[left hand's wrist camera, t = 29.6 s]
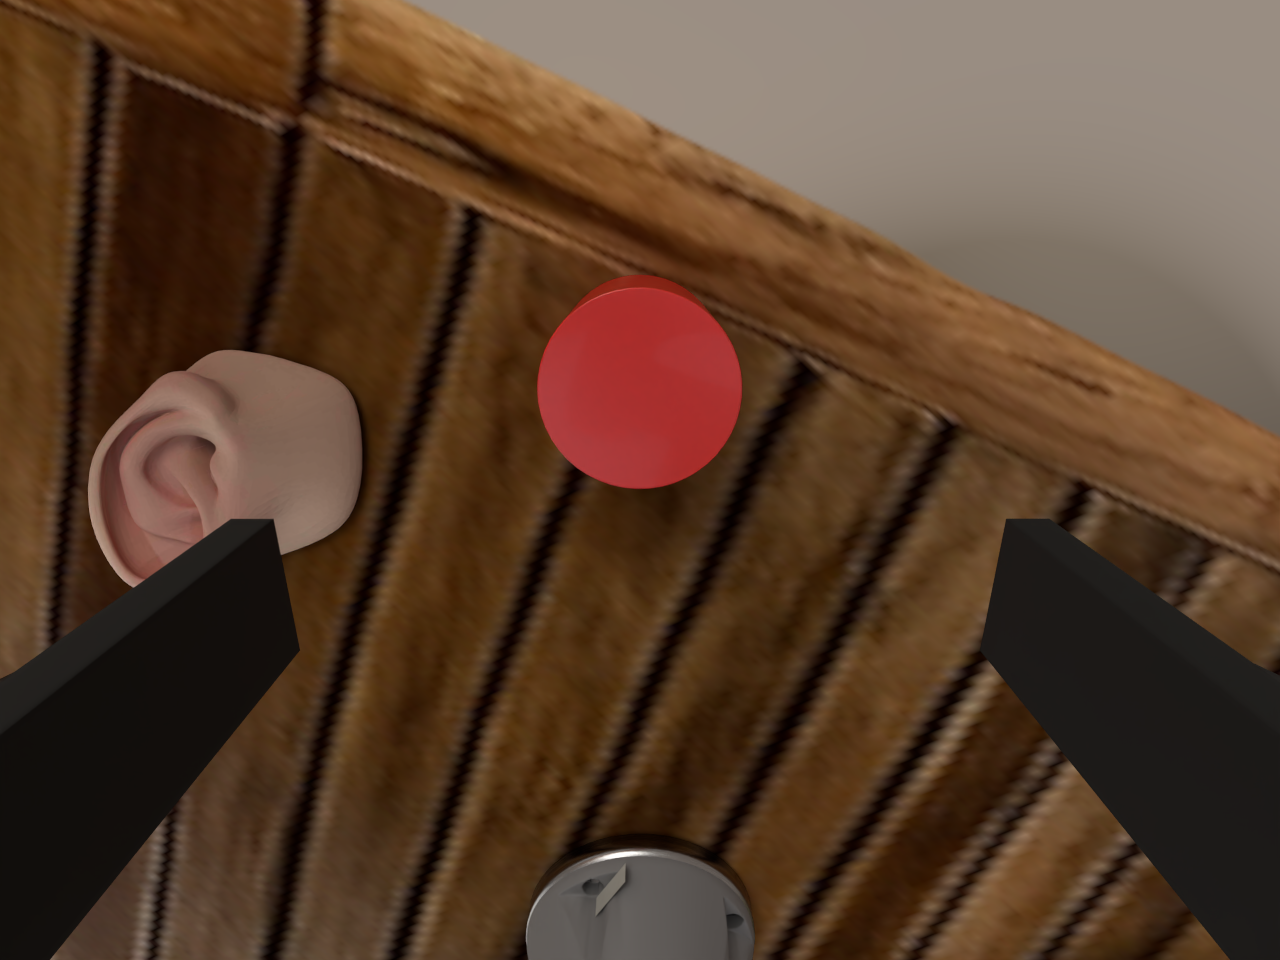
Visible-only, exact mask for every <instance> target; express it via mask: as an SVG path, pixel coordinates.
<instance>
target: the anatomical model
mask: <svg viewBox="0 0 1280 960" xmlns="http://www.w3.org/2000/svg"><path fill="white" fill-rule="evenodd" d="M361 475H362V437H361V427H360V420H359V414H358V410H357V406H356V404H355V401H354V399H353V396H352V395H351V393H350V392H349V390H348V389H347V388H346V386H344V385H343V384H342V383H341V382H340V381H339V380H337V379H336V378H334V377H332V376H330V375H328V374H326V373H324V372H321V371H319V370H316V369H314V368H311V367H308V366H305V365H301V364H298V363H295V362H292V361H289V360H285V359H282V358H278V357H274V356H271V355H265V354H259V353H252V352H245V351H238V350H222V351H217V352H214V353H211V354H209V355H207V356H205V357H203V358H202V359H200V360H199V361H198V362H196V363H195V364H194V365H193V366H191V367H190V368H189V369H188V370H187V371H176V372H171V373H168V374H165V375H163V376H162V377H160V378H159V379H158V380H157V381H156V382H154V383H153V384H152V385H151V386H150V388H149V389H148V390H147V391H146V392H145V393H144V394H143V395H142V396H141V397H140V398H139V399H138V400H137V401H136V402H135V403H134V404H133V405H132V406H131V407H130V408H129V409H128V410H127V411H126V412H125V413H124V414H123V415H122V416H121V417H120V418H119V419H118V420H117V421H116V422H115V423H114V424H113V426H112V427H111V428H110V429H109V430H108V432H107V433H106V434H105V436H104V437H103V439H102V440H101V442H100V444H99V446H98V448H97V450H96V452H95V454H94V457H93V460H92V464H91V468H90V474H89V485H88V498H89V511H90V517H91V521H92V526H93V529H94V532H95V535H96V538H97V540H98V542H99V544H100V546H101V549H102V551H103V552H104V554H105V556H106V558H107V560H108V562H109V563H110V564H111V566H112V567H113V569H114V570H115V571H116V573H117V574H118V575H119V576H120V577H121V578H122V579H123V580H124V581H125V582H126V583H127V584H129V585H130V586H132V587H135V586H137V585H138V584H140V583H141V582H142V581H144V580H145V579H147V578H148V577H149V576H151V575H152V574H154V573H155V572H157V571H158V570H159V569H161V568H162V567H164V566H165V565H166V564H168V563H169V562H171V561H172V560H173V559H175V558H176V557H178V556H179V555H181V554H182V553H183V552H185V551H186V550H188V549H189V548H190V547H192V546H193V545H195V544H196V543H198V542H199V541H200V540H202V539H203V538H205V537H206V536H207V535H209V534H210V533H212V532H213V531H214V530H216V529H217V528H219V527H220V526H222V525H223V524H224V523H226V522H227V521H229V520H230V519H274V523H275V528H276V533H277V538H278V543H279V548H280V553H281V555H282V554H285V553H288V552H291V551H294V550H297V549H299V548H302V547H305V546H307V545H310V544H312V543H314V542H316V541H318V540H320V539H323V538H324V537H326V536H328V535H329V534H331V533H333V532H334V531H336V530H337V529H338V528H339V527H340V526H341V525H342V524H343V523H344V522H345V521H346V520H347V519H348V517H349V516H350V514H351V512H352V510H353V508H354V506H355V503H356V501H357V497H358V493H359V489H360V484H361Z"/></svg>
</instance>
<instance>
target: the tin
mask: <svg viewBox="0 0 1280 960" xmlns="http://www.w3.org/2000/svg"><path fill="white" fill-rule="evenodd" d="M537 393H538V404H539V408H540V413H541V417H542V419H543V422H544V425H545V428H546V430H547V432H548V434H549V436H550V437H551V439H552V441H553V442H554V444H555V445H556V447H557V448H558V450H559V451H560V452H561V453H562V454H563V455H564V456H565V457H566V459H567V460H569V461H570V462H571V463H572V464H573V465H574V466H575V467H577V468H578V469H580V470H581V471H583V472H584V473H586V474H587V475H589V476H591V477H593V478H595V479H597V480H599V481H601V482H604V483H607V484H610V485H614V486H618V487H623V488H632V489H649V488H656V487H662V486H666V485H669V484H673V483H676V482H678V481H680V480H683V479H685V478H687V477H689V476H691V475H692V474H694V473H696V472H697V471H699V470H700V469H701V468H703V467H704V466H705V465H707V464H708V463H709V462H710V461H711V460H712V459H713V458H714V457H715V456H716V455H717V454H718V453H719V451H720V450H721V449H722V447H723V446H724V445H725V443H726V442H727V440H728V438H729V437H730V435H731V433H732V431H733V429H734V426H735V424H736V422H737V418H738V415H739V411H740V406H741V400H742V377H741V369H740V365H739V361H738V357H737V355H736V352H735V350H734V347H733V345H732V343H731V341H730V340H729V338H728V336H727V334H726V333H725V331H724V330H723V329H722V327H721V326H720V325H719V323H718V322H717V321H716V320H715V319H714V317H713V316H712V315H711V314H710V313H709V311H708V310H707V309H706V308H705V307H704V305H703V304H702V303H701V302H700V301H699V300H698V299H697V298H696V297H695V296H694V295H693V294H692V293H690V292H689V291H688V290H686V289H685V288H683V287H682V286H680V285H678V284H676V283H674V282H672V281H669V280H667V279H664V278H660V277H656V276H649V275H630V276H624V277H619V278H616V279H613V280H610V281H608V282H606V283H603V284H601V285H599V286H598V287H596V288H595V289H593V290H592V291H590V292H589V293H588V294H587V295H586V296H585V297H583V298H582V299H581V301H580V302H579V303H578V304H577V305H576V306H575V307H574V309H573V310H572V311H571V312H570V313H569V315H568V316H567V317H566V318H565V319H564V321H563V322H562V323H561V324H560V325H559V327H558V328H557V329H556V331H555V332H554V334H553V335H552V337H551V338H550V340H549V342H548V345H547V347H546V349H545V351H544V354H543V357H542V360H541V363H540V368H539V373H538V384H537Z"/></svg>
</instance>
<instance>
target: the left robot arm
mask: <svg viewBox="0 0 1280 960" xmlns="http://www.w3.org/2000/svg"><path fill="white" fill-rule="evenodd" d="M299 651H300V648H299V643H298V638H297V633H296V628H295V623H294V618H293V613H292V608H291V603H290V598H289V593H288V588H287V583H286V578H285V573H284V568H283V563H282V558H281V553H280V548H279V543H278V538H277V533H276V528H275V523H274V519H230V520H229V521H227V522H226V523H224V524H223V525H222V526H220V527H219V528H217V529H216V530H214V531H213V532H212V533H210V534H209V535H207V536H206V537H205V538H203V539H202V540H200V541H199V542H198V543H196V544H195V545H193V546H192V547H190V548H189V549H188V550H186V551H185V552H183V553H182V554H181V555H179V556H178V557H176V558H175V559H173V560H172V561H171V562H169V563H168V564H166V565H165V566H164V567H162V568H161V569H159V570H158V571H157V572H155V573H154V574H152V575H151V576H149V577H148V578H147V579H145V580H144V581H142V582H141V583H140V584H138V585H137V586H135V587H134V588H133V589H131V590H130V591H128V592H127V593H125V594H124V595H123V596H121V597H120V598H118V599H117V600H116V601H114V602H113V603H111V604H110V605H108V606H107V607H106V608H104V609H103V610H101V611H100V612H99V613H97V614H96V615H94V616H93V617H92V618H90V619H89V620H87V621H86V622H84V623H83V624H82V625H80V626H79V627H77V628H76V629H75V630H73V631H72V632H70V633H69V634H68V635H66V636H65V637H63V638H62V639H60V640H59V641H58V642H56V643H55V644H53V645H52V646H51V647H49V648H48V649H46V650H45V651H43V652H42V653H41V654H39V655H38V656H36V657H35V658H34V659H32V660H31V661H29V662H28V663H27V664H25V665H24V666H22V667H21V668H19V669H18V670H17V671H15V672H14V673H12V674H9V675H7V676H5V677H3V678H1V679H0V960H50V959H51V958H52V956H53V955H54V954H55V953H56V952H57V950H58V949H59V948H60V947H61V945H62V944H63V943H64V942H65V940H66V939H67V938H68V937H69V935H70V934H71V933H72V932H73V930H74V929H75V928H76V927H77V926H78V924H79V923H80V922H81V921H82V919H83V918H84V917H85V916H86V914H87V913H88V912H89V911H90V909H91V908H92V907H93V906H94V904H95V903H96V902H97V901H98V900H99V898H100V897H101V896H102V895H103V893H104V892H105V891H106V890H107V888H108V887H109V886H110V885H111V883H112V882H113V881H114V880H115V878H116V877H117V876H118V875H119V874H120V872H121V871H122V870H123V869H124V867H125V866H126V865H127V864H128V862H129V861H130V860H131V859H132V857H133V856H134V855H135V854H136V852H137V851H138V850H139V849H140V848H141V846H142V845H143V844H144V843H145V841H146V840H147V839H148V838H149V836H150V835H151V834H152V833H153V831H154V830H155V829H156V828H157V827H158V825H159V824H160V823H161V822H162V820H163V819H164V818H165V817H166V815H167V814H168V813H169V812H170V810H171V809H172V808H173V807H174V805H175V804H176V803H177V802H178V801H179V799H180V798H181V797H182V796H183V794H184V793H185V792H186V791H187V789H188V788H189V787H190V786H191V784H192V783H193V782H194V781H195V779H196V778H197V777H198V776H199V775H200V773H201V772H202V771H203V770H204V768H205V767H206V766H207V765H208V763H209V762H210V761H211V760H212V758H213V757H214V756H215V755H216V753H217V752H218V751H219V750H220V749H221V747H222V746H223V745H224V744H225V742H226V741H227V740H228V739H229V737H230V736H231V735H232V734H233V732H234V731H235V730H236V729H237V727H238V726H239V725H240V724H241V723H242V721H243V720H244V719H245V718H246V716H247V715H248V714H249V713H250V711H251V710H252V709H253V708H254V706H255V705H256V704H257V703H258V702H259V700H260V699H261V698H262V697H263V695H264V694H265V693H266V692H267V690H268V689H269V688H270V687H271V685H272V684H273V683H274V682H275V680H276V679H277V678H278V677H279V676H280V674H281V673H282V672H283V671H284V669H285V668H286V667H287V666H288V664H289V663H290V662H291V661H292V659H293V658H294V657H295V656H296V654H297V653H298V652H299ZM980 651H981V652H982V653H983V654H984V656H985V657H986V658H987V659H988V661H989V662H990V663H991V664H992V666H993V667H994V668H995V669H996V671H997V672H998V673H999V674H1000V676H1001V677H1002V678H1003V679H1004V680H1005V682H1006V683H1007V684H1008V685H1009V687H1010V688H1011V689H1012V690H1013V692H1014V693H1015V694H1016V695H1017V697H1018V698H1019V699H1020V700H1021V702H1022V703H1023V704H1024V705H1025V706H1026V708H1027V709H1028V710H1029V711H1030V713H1031V714H1032V715H1033V716H1034V718H1035V719H1036V720H1037V721H1038V723H1039V724H1040V725H1041V726H1042V727H1043V729H1044V730H1045V731H1046V732H1047V734H1048V735H1049V736H1050V737H1051V739H1052V740H1053V741H1054V742H1055V744H1056V745H1057V746H1058V747H1059V749H1060V750H1061V751H1062V752H1063V753H1064V755H1065V756H1066V757H1067V758H1068V760H1069V761H1070V762H1071V763H1072V765H1073V766H1074V767H1075V768H1076V770H1077V771H1078V772H1079V773H1080V775H1081V776H1082V777H1083V778H1084V779H1085V781H1086V782H1087V783H1088V784H1089V786H1090V787H1091V788H1092V789H1093V791H1094V792H1095V793H1096V794H1097V796H1098V797H1099V798H1100V799H1101V801H1102V802H1103V803H1104V804H1105V805H1106V807H1107V808H1108V809H1109V810H1110V812H1111V813H1112V814H1113V815H1114V817H1115V818H1116V819H1117V820H1118V822H1119V823H1120V824H1121V825H1122V827H1123V828H1124V829H1125V830H1126V831H1127V833H1128V834H1129V835H1130V836H1131V838H1132V839H1133V840H1134V841H1135V843H1136V844H1137V845H1138V846H1139V848H1140V849H1141V850H1142V851H1143V852H1144V854H1145V855H1146V856H1147V857H1148V859H1149V860H1150V861H1151V862H1152V864H1153V865H1154V866H1155V867H1156V869H1157V870H1158V871H1159V872H1160V874H1161V875H1162V876H1163V877H1164V878H1165V880H1166V881H1167V882H1168V883H1169V885H1170V886H1171V887H1172V888H1173V890H1174V891H1175V892H1176V893H1177V895H1178V896H1179V897H1180V898H1181V900H1182V901H1183V902H1184V903H1185V904H1186V906H1187V907H1188V908H1189V909H1190V911H1191V912H1192V913H1193V914H1194V916H1195V917H1196V918H1197V919H1198V921H1199V922H1200V923H1201V924H1202V926H1203V927H1204V928H1205V929H1206V930H1207V932H1208V933H1209V934H1210V935H1211V937H1212V938H1213V939H1214V940H1215V942H1216V943H1217V944H1218V945H1219V947H1220V948H1221V949H1222V950H1223V952H1224V953H1225V954H1226V955H1227V956H1228V958H1229V959H1230V960H1280V676H1279V675H1277V674H1275V673H1273V672H1271V671H1269V670H1267V669H1264V668H1262V667H1260V666H1258V665H1256V664H1253V663H1252V662H1251V661H1249V660H1248V659H1246V658H1245V657H1244V656H1242V655H1241V654H1239V653H1238V652H1237V651H1235V650H1234V649H1232V648H1231V647H1229V646H1228V645H1227V644H1225V643H1224V642H1222V641H1221V640H1220V639H1218V638H1217V637H1215V636H1214V635H1212V634H1211V633H1210V632H1208V631H1207V630H1205V629H1204V628H1203V627H1201V626H1200V625H1198V624H1197V623H1196V622H1194V621H1193V620H1191V619H1190V618H1188V617H1187V616H1186V615H1184V614H1183V613H1181V612H1180V611H1179V610H1177V609H1176V608H1174V607H1173V606H1172V605H1170V604H1169V603H1167V602H1166V601H1164V600H1163V599H1162V598H1160V597H1159V596H1157V595H1156V594H1155V593H1153V592H1152V591H1150V590H1149V589H1147V588H1146V587H1145V586H1143V585H1142V584H1140V583H1139V582H1138V581H1136V580H1135V579H1133V578H1132V577H1131V576H1129V575H1128V574H1126V573H1125V572H1123V571H1122V570H1121V569H1119V568H1118V567H1116V566H1115V565H1114V564H1112V563H1111V562H1109V561H1108V560H1107V559H1105V558H1104V557H1102V556H1101V555H1099V554H1098V553H1097V552H1095V551H1094V550H1092V549H1091V548H1090V547H1088V546H1087V545H1085V544H1084V543H1082V542H1081V541H1080V540H1078V539H1077V538H1075V537H1074V536H1073V535H1071V534H1070V533H1068V532H1067V531H1066V530H1064V529H1063V528H1061V527H1060V526H1058V525H1057V524H1056V523H1054V522H1053V521H1051V520H1050V519H1006V523H1005V528H1004V533H1003V538H1002V543H1001V548H1000V553H999V558H998V563H997V568H996V573H995V578H994V583H993V588H992V593H991V598H990V603H989V608H988V613H987V618H986V623H985V628H984V633H983V638H982V643H981V648H980ZM754 942H755V931H754V923H753V917H752V911H751V905H750V901H749V896H748V894H747V891H746V889H745V887H744V885H743V883H742V881H741V880H740V878H739V877H738V876H737V874H736V873H735V872H734V871H733V870H732V869H731V867H729V866H728V865H727V864H726V863H725V862H724V861H723V860H721V859H720V858H719V857H717V856H716V855H714V854H713V853H711V852H709V851H708V850H706V849H704V848H702V847H700V846H698V845H695V844H692V843H690V842H687V841H684V840H680V839H677V838H672V837H667V836H661V835H651V834H629V835H620V836H614V837H608V838H604V839H600V840H597V841H594V842H591V843H588V844H586V845H584V846H581V847H579V848H577V849H575V850H573V851H571V852H570V853H568V854H567V855H565V856H564V857H562V858H561V859H559V860H558V861H557V862H556V863H555V864H553V865H552V866H551V867H550V868H549V869H548V870H547V872H546V873H545V874H544V875H543V877H542V878H541V880H540V881H539V883H538V884H537V886H536V888H535V891H534V893H533V896H532V899H531V905H530V911H529V917H528V923H527V929H526V943H527V954H528V960H752V958H753V952H754Z"/></svg>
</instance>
